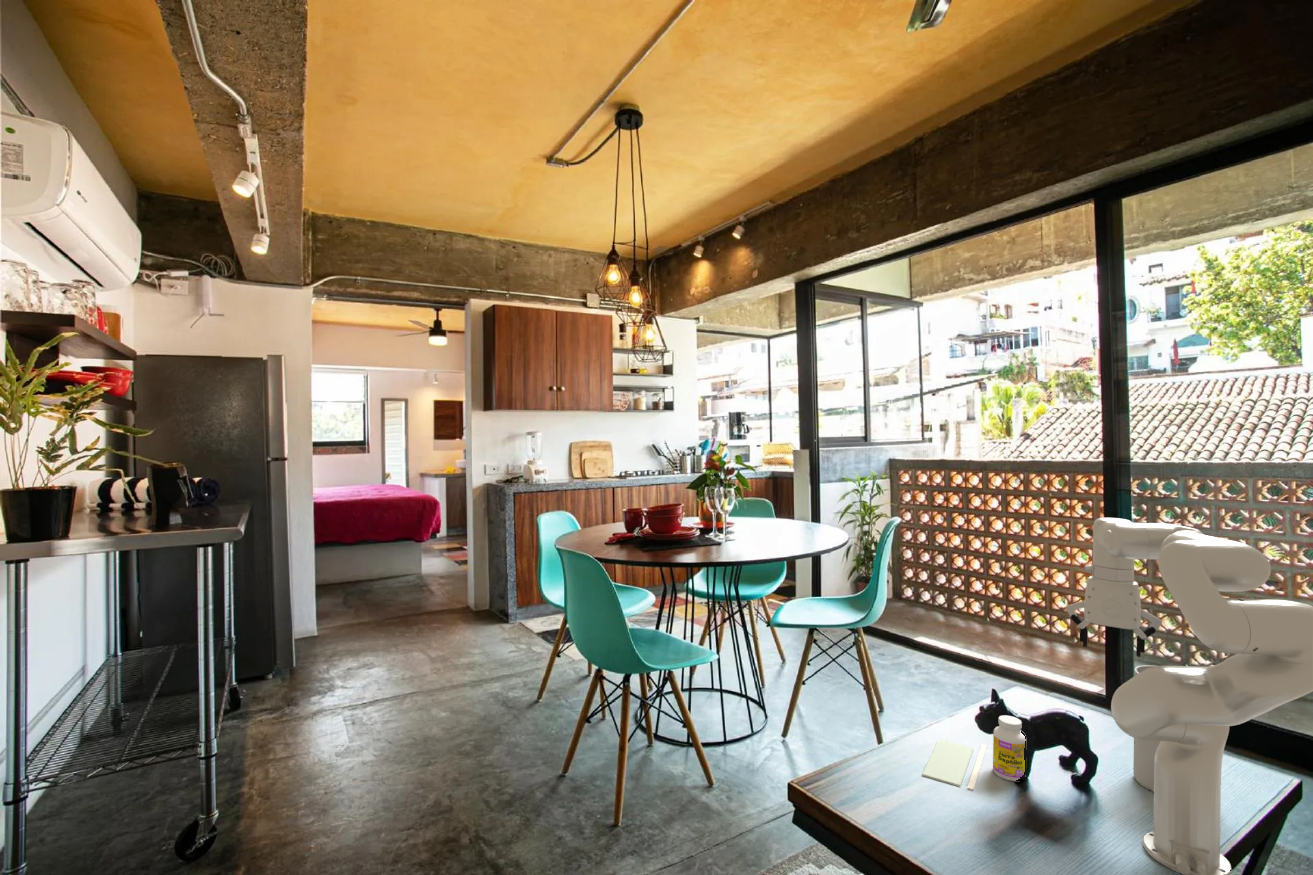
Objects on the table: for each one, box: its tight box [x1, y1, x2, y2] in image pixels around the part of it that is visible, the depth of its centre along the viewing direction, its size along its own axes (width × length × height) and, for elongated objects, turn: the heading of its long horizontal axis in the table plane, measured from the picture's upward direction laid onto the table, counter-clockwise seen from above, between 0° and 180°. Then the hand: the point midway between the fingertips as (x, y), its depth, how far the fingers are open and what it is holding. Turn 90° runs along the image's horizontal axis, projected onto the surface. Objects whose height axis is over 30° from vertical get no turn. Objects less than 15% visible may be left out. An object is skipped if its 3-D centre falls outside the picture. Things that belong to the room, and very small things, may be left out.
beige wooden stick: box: [967, 743, 988, 791], centre depth 149 cm, size 24×1×1 cm, turn 146°
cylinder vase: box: [1133, 664, 1161, 793], centre depth 141 cm, size 12×12×25 cm
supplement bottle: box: [992, 714, 1027, 782], centre depth 145 cm, size 7×7×13 cm
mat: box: [922, 739, 974, 788], centre depth 151 cm, size 20×8×1 cm, turn 146°
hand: (1111, 650), depth 140 cm, fingers open, 9 cm apart
